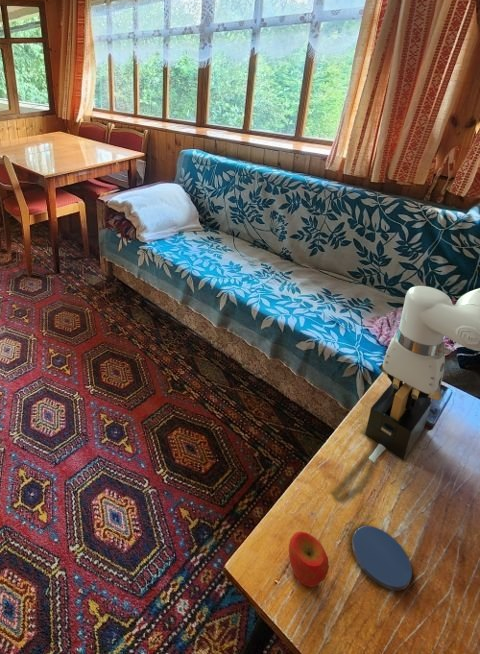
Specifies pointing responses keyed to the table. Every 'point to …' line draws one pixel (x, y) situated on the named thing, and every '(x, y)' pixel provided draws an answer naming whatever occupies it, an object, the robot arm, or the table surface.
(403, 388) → the toast
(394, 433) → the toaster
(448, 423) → the table surface
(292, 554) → the apple
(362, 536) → the plate
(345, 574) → the table surface
